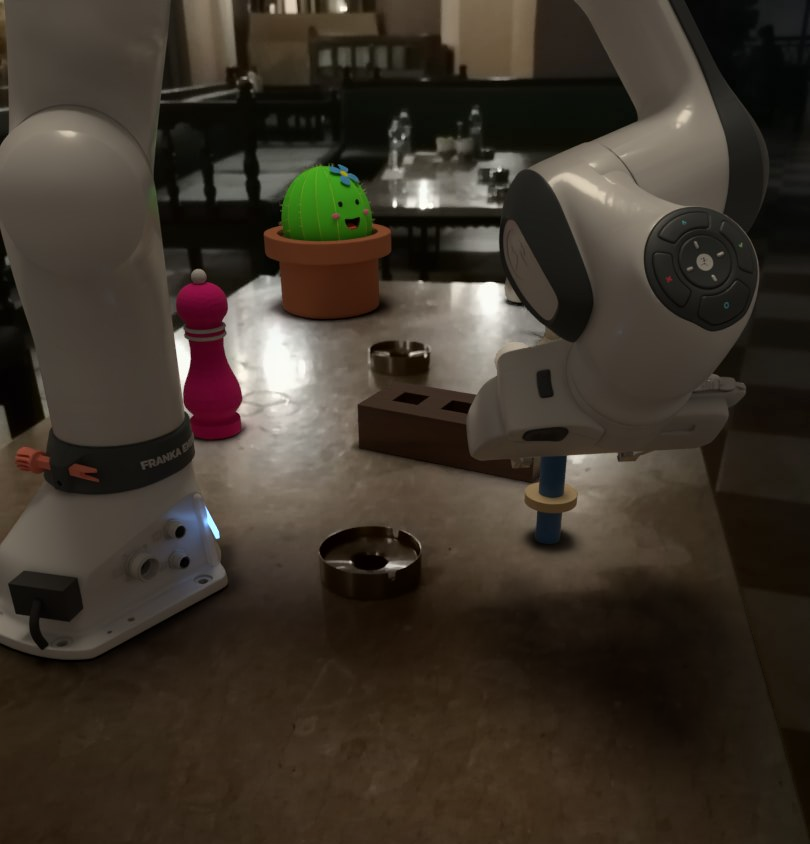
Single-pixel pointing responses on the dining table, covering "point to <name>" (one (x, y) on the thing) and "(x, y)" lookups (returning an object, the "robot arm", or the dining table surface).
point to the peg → (550, 498)
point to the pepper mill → (208, 361)
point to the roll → (509, 349)
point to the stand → (428, 429)
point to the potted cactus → (328, 246)
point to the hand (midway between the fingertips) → (572, 456)
